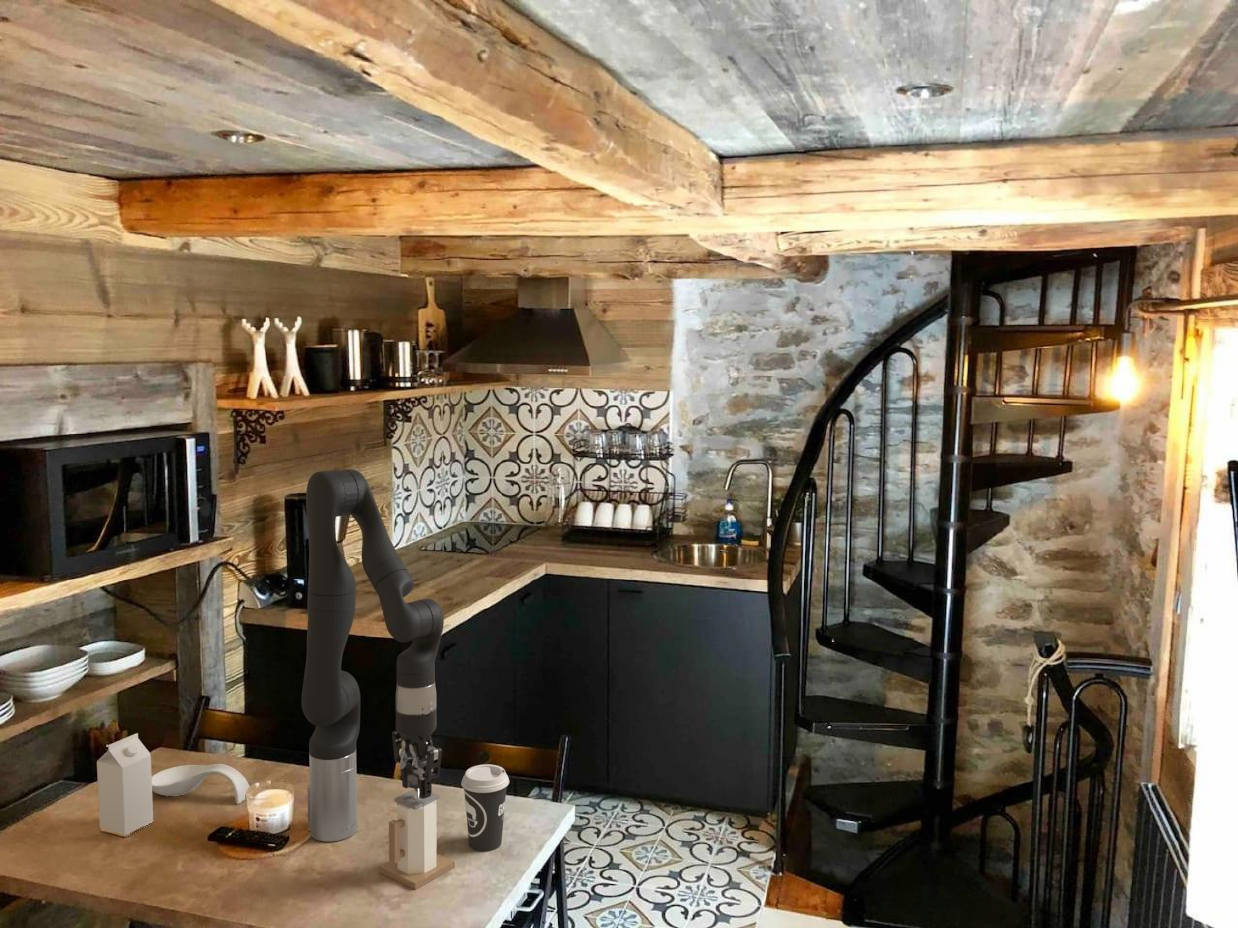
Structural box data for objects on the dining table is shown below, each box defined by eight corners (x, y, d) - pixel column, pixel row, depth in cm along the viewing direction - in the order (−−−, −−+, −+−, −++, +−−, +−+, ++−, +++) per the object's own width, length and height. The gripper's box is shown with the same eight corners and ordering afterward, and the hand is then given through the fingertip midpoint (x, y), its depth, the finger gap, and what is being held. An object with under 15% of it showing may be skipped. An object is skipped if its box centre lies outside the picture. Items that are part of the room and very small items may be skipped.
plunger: (399, 841, 188) (398, 773, 187) (418, 832, 192) (417, 765, 191) (416, 849, 186) (415, 780, 184) (435, 839, 189) (434, 772, 188)
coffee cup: (500, 857, 195) (500, 784, 193) (454, 852, 196) (454, 779, 195) (515, 834, 204) (515, 764, 202) (471, 829, 206) (470, 760, 204)
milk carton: (99, 831, 203) (95, 742, 201) (128, 816, 209) (124, 730, 207) (125, 838, 200) (121, 747, 198) (153, 823, 207) (150, 735, 204)
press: (374, 874, 187) (373, 801, 186) (419, 851, 196) (418, 781, 195) (410, 892, 182) (410, 816, 180) (454, 867, 191) (454, 794, 189)
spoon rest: (135, 799, 218) (134, 768, 217) (171, 777, 229) (170, 748, 228) (229, 812, 212) (228, 780, 212) (262, 789, 224) (261, 759, 223)
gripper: (378, 700, 189) (379, 785, 190) (419, 721, 178) (420, 810, 180) (412, 691, 194) (413, 774, 196) (454, 711, 183) (455, 798, 185)
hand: (416, 791), depth 188 cm, fingers open, 5 cm apart
